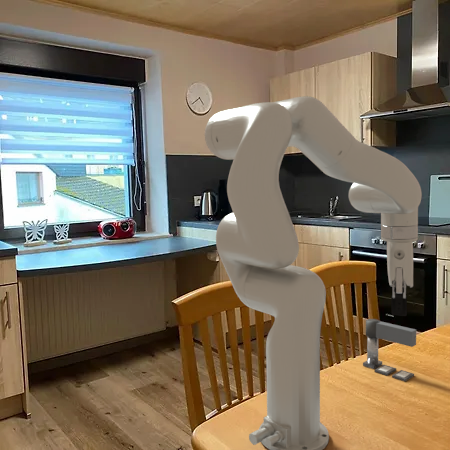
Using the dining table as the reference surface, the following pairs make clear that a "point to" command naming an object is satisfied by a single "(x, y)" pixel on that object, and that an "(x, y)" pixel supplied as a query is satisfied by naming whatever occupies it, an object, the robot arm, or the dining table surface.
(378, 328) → the swing bar
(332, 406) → the dining table surface
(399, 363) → the dining table surface
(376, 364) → the bar post
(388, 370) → the label plate
